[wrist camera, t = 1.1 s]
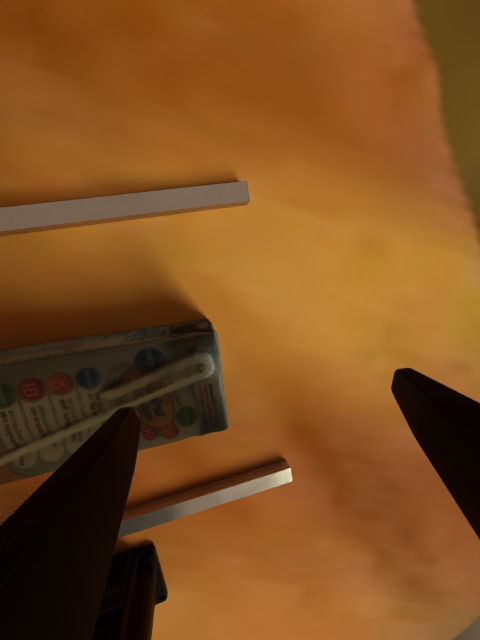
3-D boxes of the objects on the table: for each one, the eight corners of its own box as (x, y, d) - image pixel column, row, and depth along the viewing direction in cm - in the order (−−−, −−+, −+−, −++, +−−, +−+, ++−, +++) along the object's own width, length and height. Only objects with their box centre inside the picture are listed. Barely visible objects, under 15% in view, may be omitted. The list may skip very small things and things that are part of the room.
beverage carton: (222, 397, 24) (234, 440, 17) (-8, 446, 21) (-98, 520, 14) (210, 315, 22) (218, 329, 16) (-39, 353, 19) (-154, 390, 13)
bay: (287, 472, 26) (300, 496, 23) (-60, 582, 21) (-100, 630, 18) (243, 186, 21) (252, 170, 18) (-226, 239, 16) (-318, 229, 13)
